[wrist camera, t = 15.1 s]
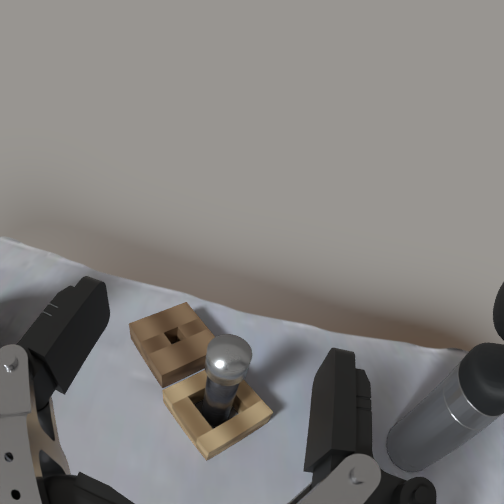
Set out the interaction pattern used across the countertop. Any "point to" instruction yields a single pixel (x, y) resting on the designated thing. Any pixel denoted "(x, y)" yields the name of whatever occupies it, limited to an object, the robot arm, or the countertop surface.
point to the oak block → (198, 429)
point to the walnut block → (167, 332)
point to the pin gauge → (224, 375)
